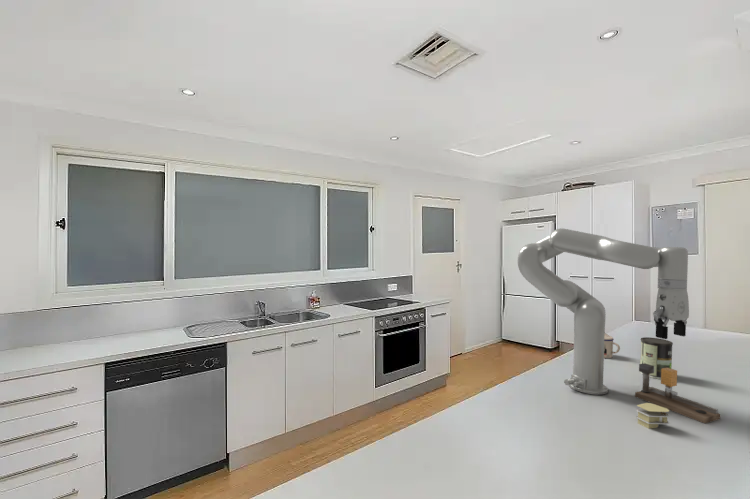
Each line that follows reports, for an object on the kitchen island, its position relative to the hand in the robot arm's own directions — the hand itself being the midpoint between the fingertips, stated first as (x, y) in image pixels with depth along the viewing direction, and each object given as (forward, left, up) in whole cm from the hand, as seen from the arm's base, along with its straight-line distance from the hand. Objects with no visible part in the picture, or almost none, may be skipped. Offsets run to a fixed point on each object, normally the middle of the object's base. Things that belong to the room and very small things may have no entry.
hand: (670, 336), depth 121 cm
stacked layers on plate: (-20, -7, -23) cm, 31 cm away
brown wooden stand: (0, -2, -22) cm, 22 cm away
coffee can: (+26, +19, -23) cm, 39 cm away
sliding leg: (+1, 0, -20) cm, 21 cm away
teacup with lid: (+30, +43, -23) cm, 57 cm away
